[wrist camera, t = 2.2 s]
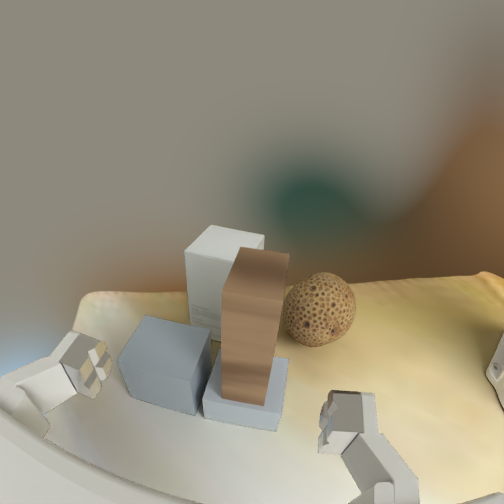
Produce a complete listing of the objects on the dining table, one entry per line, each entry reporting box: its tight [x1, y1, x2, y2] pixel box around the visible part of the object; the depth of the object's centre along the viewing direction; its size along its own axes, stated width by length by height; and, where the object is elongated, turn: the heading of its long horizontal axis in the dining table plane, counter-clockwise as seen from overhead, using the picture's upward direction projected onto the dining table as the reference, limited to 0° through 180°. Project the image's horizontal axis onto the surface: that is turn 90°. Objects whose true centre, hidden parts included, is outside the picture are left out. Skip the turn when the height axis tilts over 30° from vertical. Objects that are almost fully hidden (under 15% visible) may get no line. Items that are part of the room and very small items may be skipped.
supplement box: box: [184, 225, 264, 342], centre depth 38 cm, size 7×7×13 cm
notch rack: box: [117, 315, 289, 431], centre depth 29 cm, size 7×16×6 cm, turn 80°
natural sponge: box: [283, 272, 356, 347], centre depth 37 cm, size 9×9×10 cm
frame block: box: [221, 247, 290, 406], centre depth 25 cm, size 6×4×13 cm
